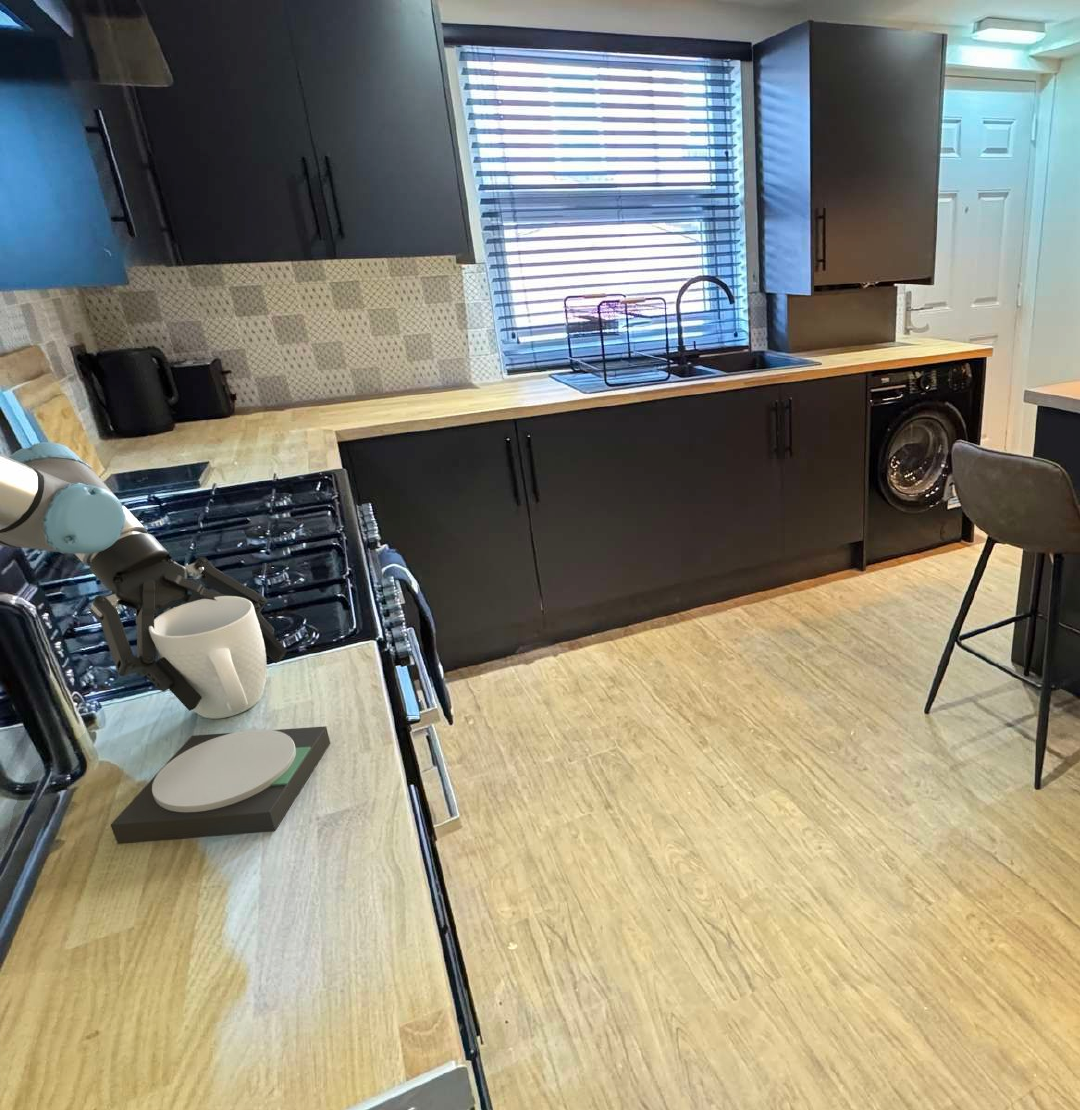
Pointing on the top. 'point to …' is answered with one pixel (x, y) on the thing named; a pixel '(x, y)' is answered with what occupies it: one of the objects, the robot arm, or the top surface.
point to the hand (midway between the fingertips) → (241, 679)
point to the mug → (215, 652)
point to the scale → (224, 785)
